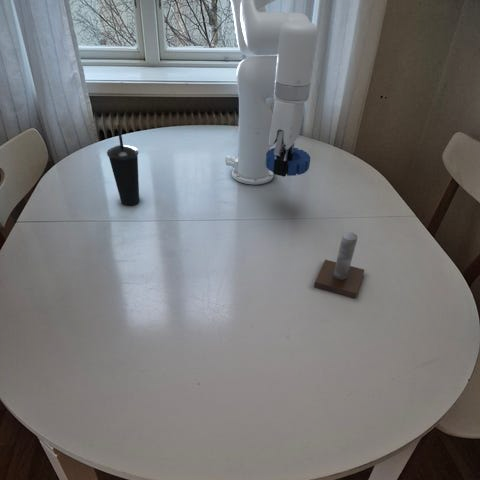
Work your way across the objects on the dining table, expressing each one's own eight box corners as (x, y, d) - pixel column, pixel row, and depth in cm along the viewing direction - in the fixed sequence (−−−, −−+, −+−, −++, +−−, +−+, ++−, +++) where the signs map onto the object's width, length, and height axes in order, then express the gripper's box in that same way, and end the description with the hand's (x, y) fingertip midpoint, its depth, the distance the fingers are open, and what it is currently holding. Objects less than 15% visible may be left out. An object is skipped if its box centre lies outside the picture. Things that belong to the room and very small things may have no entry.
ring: (259, 170, 106) (260, 159, 104) (273, 153, 113) (274, 143, 111) (301, 179, 103) (303, 169, 101) (313, 161, 110) (315, 151, 108)
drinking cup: (110, 204, 115) (95, 127, 101) (125, 192, 120) (114, 117, 106) (134, 211, 113) (123, 133, 99) (149, 198, 118) (141, 122, 104)
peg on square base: (313, 287, 93) (322, 241, 85) (324, 264, 99) (333, 220, 91) (355, 298, 90) (368, 253, 82) (363, 274, 96) (376, 230, 89)
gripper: (286, 77, 99) (278, 156, 112) (262, 98, 88) (255, 182, 101) (318, 83, 97) (306, 162, 110) (297, 105, 86) (286, 189, 99)
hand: (282, 171), depth 105 cm, fingers closed on ring, 3 cm apart
